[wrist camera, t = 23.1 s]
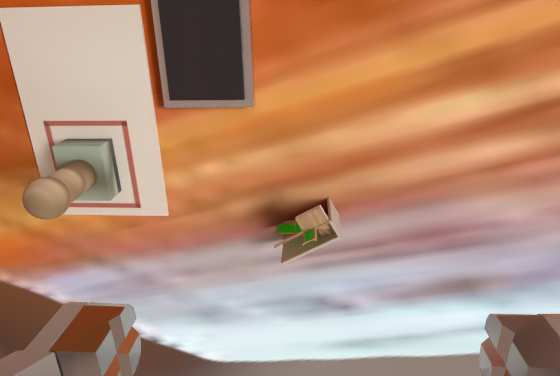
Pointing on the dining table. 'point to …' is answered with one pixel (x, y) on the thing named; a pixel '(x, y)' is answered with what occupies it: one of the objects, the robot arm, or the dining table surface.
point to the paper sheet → (89, 94)
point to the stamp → (74, 178)
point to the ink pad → (205, 52)
